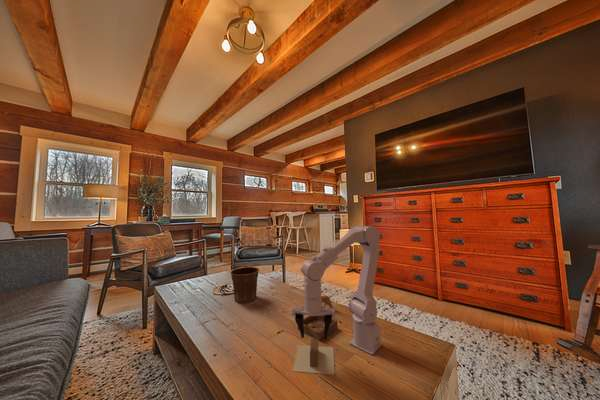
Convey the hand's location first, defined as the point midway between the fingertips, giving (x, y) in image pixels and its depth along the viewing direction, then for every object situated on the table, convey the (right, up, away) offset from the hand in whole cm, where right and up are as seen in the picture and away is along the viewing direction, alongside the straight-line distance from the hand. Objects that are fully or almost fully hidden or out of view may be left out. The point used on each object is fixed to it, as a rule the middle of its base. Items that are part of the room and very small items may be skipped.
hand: (314, 337), depth 72 cm
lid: (0, -8, 0) cm, 8 cm away
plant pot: (-37, -11, +51) cm, 63 cm away
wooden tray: (+3, -8, +18) cm, 20 cm away
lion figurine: (+5, -9, +35) cm, 37 cm away
